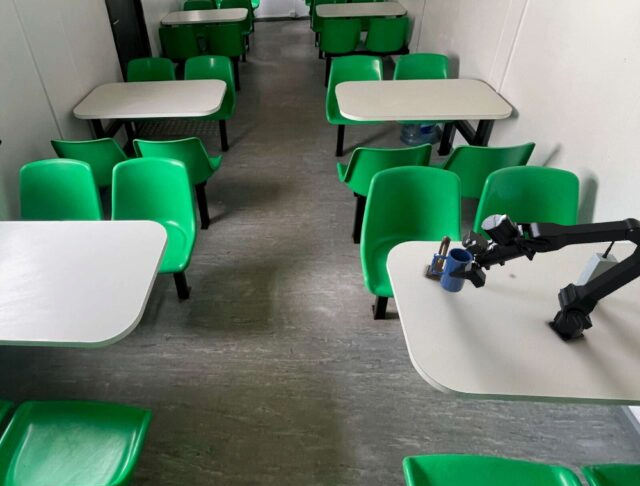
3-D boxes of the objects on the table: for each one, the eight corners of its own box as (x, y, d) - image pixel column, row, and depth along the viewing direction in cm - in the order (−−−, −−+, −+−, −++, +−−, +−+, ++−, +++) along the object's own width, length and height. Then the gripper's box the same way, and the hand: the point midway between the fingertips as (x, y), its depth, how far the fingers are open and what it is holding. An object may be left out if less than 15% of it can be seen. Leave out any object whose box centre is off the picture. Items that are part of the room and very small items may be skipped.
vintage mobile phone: (593, 301, 131) (633, 240, 116) (575, 299, 132) (612, 238, 117) (588, 293, 134) (626, 232, 119) (571, 291, 135) (606, 230, 120)
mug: (463, 281, 131) (473, 251, 124) (460, 295, 127) (471, 265, 120) (429, 271, 135) (437, 242, 128) (425, 284, 131) (433, 255, 124)
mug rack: (446, 272, 144) (458, 234, 134) (439, 299, 134) (452, 260, 124) (428, 266, 146) (439, 229, 136) (420, 293, 136) (431, 254, 126)
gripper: (488, 211, 122) (440, 230, 133) (482, 249, 109) (429, 267, 119) (511, 239, 123) (461, 256, 134) (507, 281, 110) (452, 296, 121)
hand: (451, 267), depth 127 cm, fingers closed on mug, 6 cm apart
